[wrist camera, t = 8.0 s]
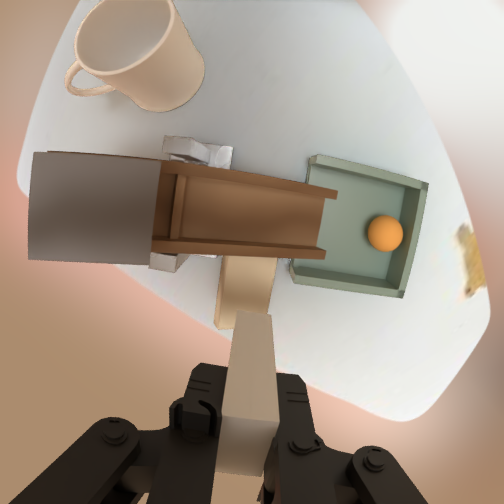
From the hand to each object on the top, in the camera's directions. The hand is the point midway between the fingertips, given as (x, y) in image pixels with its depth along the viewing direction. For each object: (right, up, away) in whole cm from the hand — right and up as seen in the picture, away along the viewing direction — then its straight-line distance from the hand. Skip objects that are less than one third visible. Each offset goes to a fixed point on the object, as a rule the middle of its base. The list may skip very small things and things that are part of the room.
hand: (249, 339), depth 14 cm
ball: (+13, +6, +15) cm, 21 cm away
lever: (-5, +4, +10) cm, 12 cm away
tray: (+10, +7, +17) cm, 21 cm away
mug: (-11, +22, +14) cm, 28 cm away
